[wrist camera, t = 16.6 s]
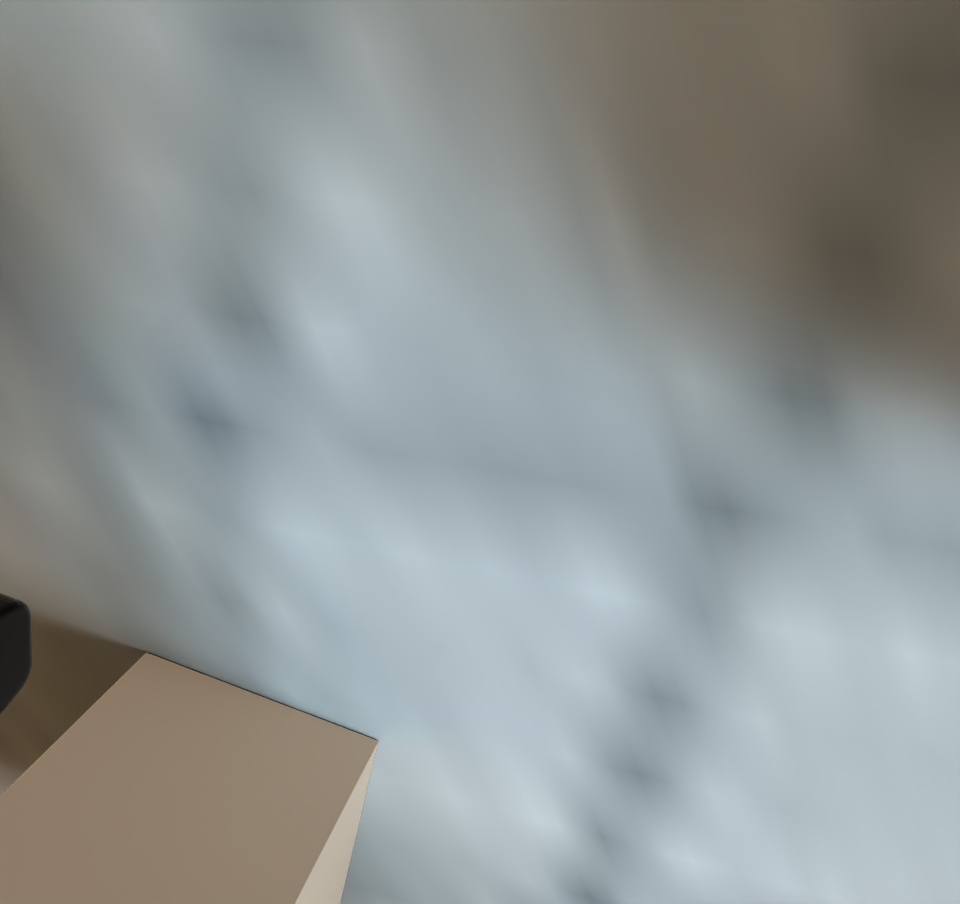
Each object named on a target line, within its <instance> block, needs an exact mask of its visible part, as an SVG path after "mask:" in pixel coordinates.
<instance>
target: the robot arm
mask: <svg viewBox="0 0 960 904" xmlns="http://www.w3.org/2000/svg"><path fill="white" fill-rule="evenodd" d="M31 664H32V648H31V613H30V610H29V608H28V606H27V605H26V604H25V603H24V602H22V601H19V600H17V599H14V598H11V597H9V596H6V595H3V594H1V593H0V714H1V713H2V712H3V711H4V709H5V708H6V707H7V706H8V704H9V703H10V702H11V701H12V700H13V698H14V697H15V696H16V695H17V693H18V692H19V691H20V690H21V688H22V687H23V685H24V683H25V682H26V680H27V678H28V675H29V673H30V669H31Z"/></svg>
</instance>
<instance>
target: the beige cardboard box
mask: <svg viewBox="0 0 960 904" xmlns="http://www.w3.org/2000/svg"><path fill="white" fill-rule="evenodd" d="M378 742H379V741H377V740H374V739H372V738H369V737H367V736H364V735H361V734H359V733H356V732H353V731H351V730H348V729H346V728H343V727H340V726H338V725H335V724H332V723H330V722H327V721H325V720H322V719H319V718H317V717H314V716H311V715H309V714H306V713H304V712H301V711H298V710H296V709H293V708H291V707H288V706H285V705H283V704H280V703H277V702H275V701H272V700H270V699H267V698H264V697H262V696H259V695H256V694H254V693H251V692H249V691H246V690H243V689H241V688H238V687H235V686H233V685H230V684H228V683H225V682H222V681H220V680H217V679H214V678H212V677H209V676H207V675H204V674H201V673H199V672H196V671H193V670H191V669H188V668H186V667H183V666H180V665H178V664H175V663H173V662H170V661H167V660H165V659H162V658H159V657H157V656H154V655H152V654H149V653H145V654H144V655H143V656H142V657H141V658H140V659H139V660H138V661H137V662H136V663H135V664H134V665H133V666H132V667H131V668H130V669H129V670H128V671H127V672H126V673H125V674H124V675H123V676H122V677H121V678H120V679H119V680H118V681H117V682H116V683H115V684H114V685H113V686H112V687H111V688H110V689H108V690H107V691H106V692H105V693H104V694H103V695H102V696H101V697H100V698H99V699H98V700H97V701H96V702H95V703H94V704H93V705H92V706H91V707H90V708H89V709H88V710H87V711H86V712H85V713H84V714H83V715H82V716H81V717H80V718H79V719H78V720H77V721H76V722H75V723H74V724H73V725H72V726H71V727H70V728H69V729H68V730H67V731H66V732H65V733H64V734H63V735H62V736H61V737H60V738H59V739H58V740H57V741H56V742H55V743H54V744H52V745H51V746H50V747H49V748H48V749H47V750H46V751H45V752H44V753H43V754H42V755H41V756H40V757H39V758H38V759H37V760H36V761H35V762H34V763H33V764H32V765H31V766H30V767H29V768H28V769H27V770H26V771H25V772H24V773H23V774H22V775H21V776H20V777H19V778H18V779H17V780H16V781H15V782H14V783H13V784H12V785H11V786H10V787H9V788H8V789H7V790H6V791H5V792H4V793H3V794H2V795H1V796H0V904H340V902H341V898H342V893H343V889H344V885H345V881H346V877H347V872H348V868H349V864H350V860H351V855H352V851H353V847H354V843H355V839H356V834H357V830H358V826H359V822H360V818H361V813H362V809H363V805H364V801H365V796H366V792H367V788H368V784H369V780H370V775H371V771H372V767H373V763H374V758H375V754H376V750H377V746H378Z"/></svg>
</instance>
